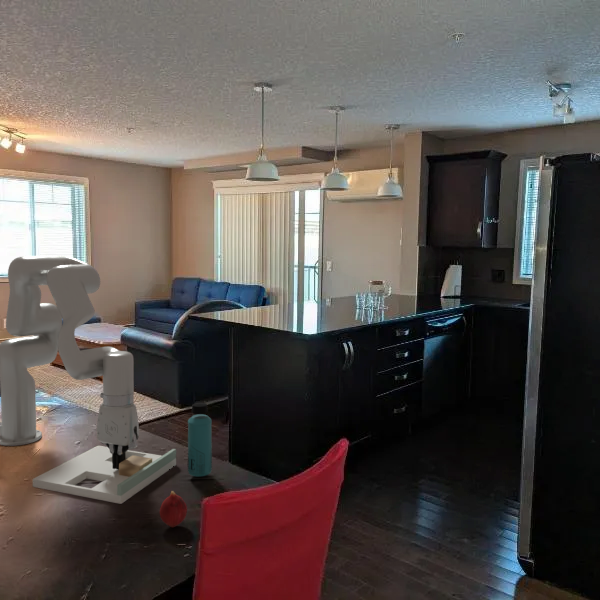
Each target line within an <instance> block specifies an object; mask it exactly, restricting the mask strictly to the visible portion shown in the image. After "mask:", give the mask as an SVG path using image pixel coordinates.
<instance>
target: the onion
mask: <svg viewBox="0 0 600 600" xmlns="http://www.w3.org/2000/svg"><path fill="white" fill-rule="evenodd" d="M187 512H188V506H187V503H186V502H185V500H184V499H183V497H181V496H180V495H178V494H176V492H175V491H174V490H171V492H170V495H169V496H167V497H166V498H165V499H164V500H163V501H162V503H161V506H160V508H159V516H160V519H161V521H162V523H164V524H166V526H169V527H170V528H176V527H177V526H178V525H180V524H182V522H183V521H185V519H186V517H187Z"/></svg>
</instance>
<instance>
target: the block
mask: <svg viewBox="0 0 600 600" xmlns="http://www.w3.org/2000/svg"><path fill="white" fill-rule="evenodd" d="M150 463H152V458H146V457H140V456H133V455H132V456H131V457H129V458H126V460H124V461H123V462H121V463H119V475H122V476H128V477H130V476H132V475H133V474H135V473H137V472H138V471H140V470H141V469H143V468H144V467H146V466H147V465H149V464H150Z"/></svg>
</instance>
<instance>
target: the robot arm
mask: <svg viewBox="0 0 600 600" xmlns="http://www.w3.org/2000/svg"><path fill="white" fill-rule="evenodd" d="M7 278H8V284H9V296H8V303H7V311H6V317H5V328H6V331H7V333H8V334H9V335H10V336H13V337H14V338H13V337H12V338H8V339H6V340H3V341H1V342H0V407H1V408H0V413H1V414H0V415H1V417H0V418H1V421H0V446H5V447H10V446H11V447H14V446H15V447H16V446H23V445H28V444H32V443H35V442H37V441H39V440H40V439H41V438H42V437H43V432H42V431H41V430H39V429H37V404H36V403H37V402H36V399H37V398H36V381H35V378H34V377H33V376H32V374H31V373H30V372H29V371H28V369H30V368H34V367H39V366H45V365H49V364H51V363H52V362H54V361H55V360H56V358H57V355H58V354H59V357H60V359H61V361H62V364H63V366H64V368H65V370H66V372H67V373H68V375H69V376H70V377H71V378H72V379H75V380H80V381H82V380H83V381H84V380H87V379H93V378H96V377H97V378H98V377H102V392H101V393H100V394H99V397H100V398H101V399H102V403H101V404H100V406H99V409H98V413H97V414H98V415H97V425H96V438H97V441H98V442H100V443H101V444H102V445H105V446H106V447H108V448H109V449H110V453H111V454H112V464H113V469H118V470H119V463H121V462H123V461H124V460H126V459H127V458H126V453H125V452H126V451H128V450H133V449H135V448H137V447H138V439H139V436H140V435H139V433H140V430H139V429H140V427H139V426H140V425H139V416H138V409H137V405H136V404H135V403H134V402H135V400H134V399H135V397H134V394H135V393H134V392H135V391H134V387H135V386H134V384H135V383H134V382H135V381H134V380H135V379H134V366H135V365H134V364H135V363H134V361H135V360H134V355H133V353H131V351H126V350H120V349H117V348H115V347H114V346H102V347H94V348H88V349H80V348H79V346H78V343H77V341H76V338H75V331H76V329H77V328H79V327H81V326H82V325H84V324H85V323H88V321H90V320H91V319H92V318H93V317H94V315H95V312H96V311H95V307H94V306H93V303H92V302H91V301H92V300H91V299H90V296H89V295H90V294H94V293H96V292H97V291H98V290H99V289H100V286H101V277H100V273H98V271H97V270H96V268H95V267H94V266H92V265H91V264H89V263H87V262H84V261H82V260H78V258H74V257H72V256H67V255H66V256H65V255H64V256H63V255H61V256H60V255H27V256H26V255H25V256H19V257H16V258H14V259H13V260H11V262H10V264H9V266H8V269H7ZM40 286H47V287H48V289H49V292H50V295H51V297H52V298H53V300H54V303H55V304H54V303H51V302H50V303H49V302H42V303H41V300H42V291H41V288H40ZM88 294H89V295H88Z"/></svg>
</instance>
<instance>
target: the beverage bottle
mask: <svg viewBox="0 0 600 600" xmlns="http://www.w3.org/2000/svg"><path fill="white" fill-rule="evenodd" d="M208 412H209V409H208V404H207V403H205V402H196V403H193V404H192V406H191V413H192V414H193V415H192V416H191V417H189V418H188V420H187V459H186V461H187V472H188V474H189V475H190V476H193V477H206V476H208V475H210V474H211V473H212V470H213V450H212V449H213V442H212V421H213V420H212V418H211V417H209V416H208V414H207V413H208ZM206 414H207V415H206Z"/></svg>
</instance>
